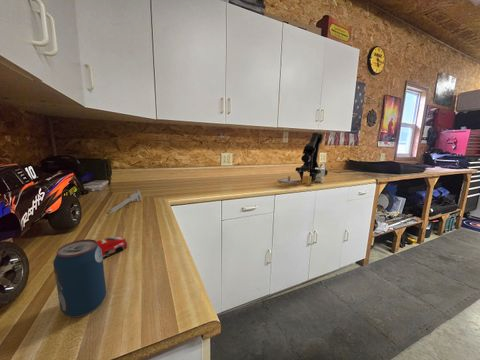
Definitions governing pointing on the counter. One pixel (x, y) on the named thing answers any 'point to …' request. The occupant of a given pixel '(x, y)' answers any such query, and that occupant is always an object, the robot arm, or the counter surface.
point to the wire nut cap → (306, 179)
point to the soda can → (80, 277)
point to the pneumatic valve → (320, 174)
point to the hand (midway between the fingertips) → (306, 181)
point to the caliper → (134, 196)
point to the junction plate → (288, 180)
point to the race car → (111, 245)
